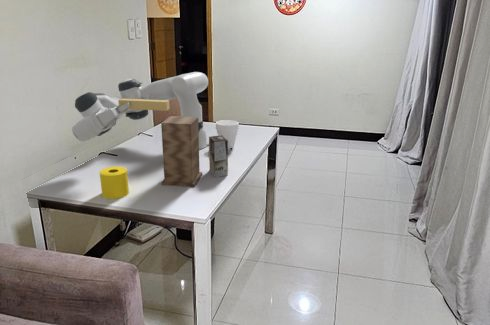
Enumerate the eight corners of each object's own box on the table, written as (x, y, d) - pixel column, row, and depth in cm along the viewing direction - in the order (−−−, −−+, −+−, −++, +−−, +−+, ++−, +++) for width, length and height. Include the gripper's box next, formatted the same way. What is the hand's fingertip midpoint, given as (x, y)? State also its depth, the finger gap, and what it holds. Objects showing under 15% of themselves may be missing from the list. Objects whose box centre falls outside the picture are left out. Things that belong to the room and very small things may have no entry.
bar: (119, 108, 163) (118, 100, 162) (122, 106, 166) (121, 98, 165) (166, 110, 161) (166, 102, 160) (169, 108, 164) (169, 100, 163)
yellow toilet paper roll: (113, 187, 163) (111, 165, 160) (134, 190, 160) (132, 168, 157) (96, 196, 154) (93, 173, 151) (117, 200, 151) (115, 177, 148)
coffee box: (228, 175, 177) (228, 140, 172) (214, 177, 175) (214, 141, 170) (222, 168, 185) (222, 135, 180) (208, 170, 183) (208, 136, 178)
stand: (161, 184, 166) (157, 123, 157) (171, 172, 179) (168, 115, 171) (194, 186, 164) (192, 124, 156) (202, 174, 178) (201, 116, 169)
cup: (239, 144, 222) (240, 120, 217) (237, 151, 210) (237, 125, 206) (217, 143, 223) (217, 119, 218) (213, 150, 211) (213, 125, 207)
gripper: (120, 118, 177) (145, 104, 174) (98, 130, 158) (126, 114, 155) (112, 106, 176) (137, 91, 172) (89, 116, 157) (117, 100, 153)
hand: (132, 102), depth 163 cm, fingers closed on bar, 3 cm apart
